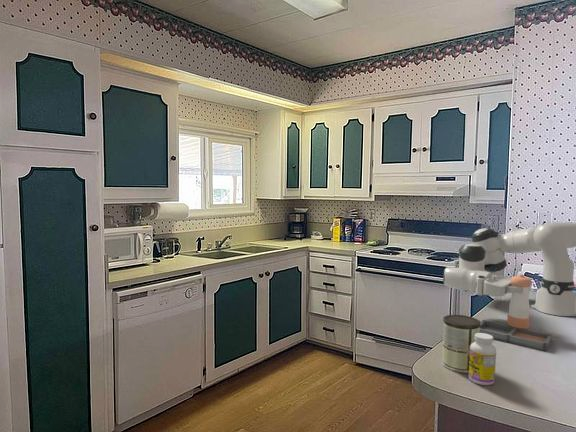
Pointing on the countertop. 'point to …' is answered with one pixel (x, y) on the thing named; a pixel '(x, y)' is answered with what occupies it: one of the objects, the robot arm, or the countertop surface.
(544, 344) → the tray
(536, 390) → the countertop surface
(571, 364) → the countertop surface
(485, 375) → the supplement bottle
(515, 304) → the salt shaker
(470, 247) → the robot arm
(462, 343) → the coffee can
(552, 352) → the countertop surface
